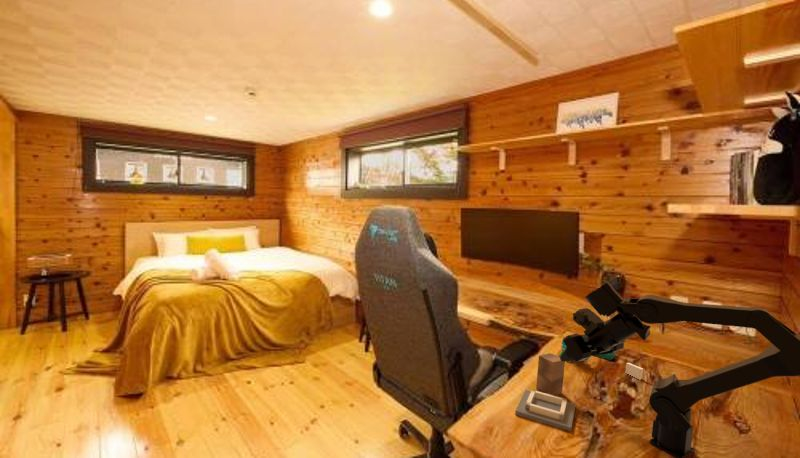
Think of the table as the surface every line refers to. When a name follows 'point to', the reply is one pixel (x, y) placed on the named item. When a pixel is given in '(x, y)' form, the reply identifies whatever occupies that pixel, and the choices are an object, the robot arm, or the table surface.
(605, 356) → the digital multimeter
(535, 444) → the table surface
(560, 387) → the block
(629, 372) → the eraser
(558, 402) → the socket plate
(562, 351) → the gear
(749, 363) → the robot arm
